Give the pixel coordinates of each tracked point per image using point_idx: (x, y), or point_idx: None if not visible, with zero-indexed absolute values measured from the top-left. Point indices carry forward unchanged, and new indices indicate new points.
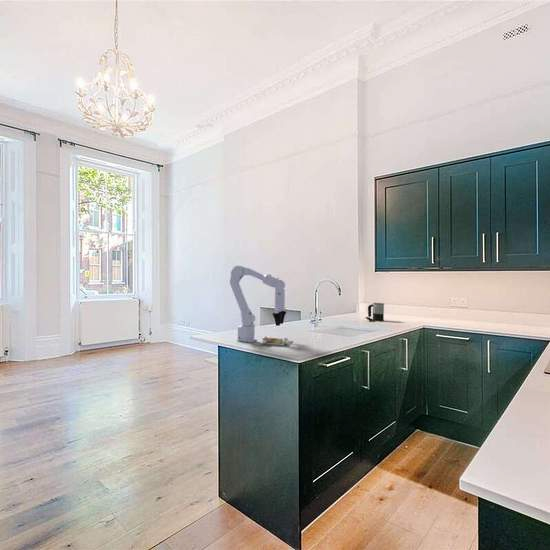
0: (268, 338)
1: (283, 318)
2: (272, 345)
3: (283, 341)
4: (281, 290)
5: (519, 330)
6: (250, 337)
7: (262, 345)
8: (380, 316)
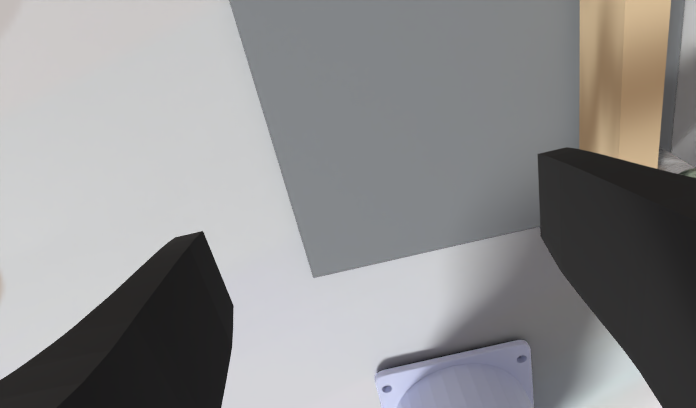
0: (653, 162)
1: (146, 314)
2: (668, 45)
3: (325, 38)
4: None
5: None
6: (522, 402)
7: None
8: None
